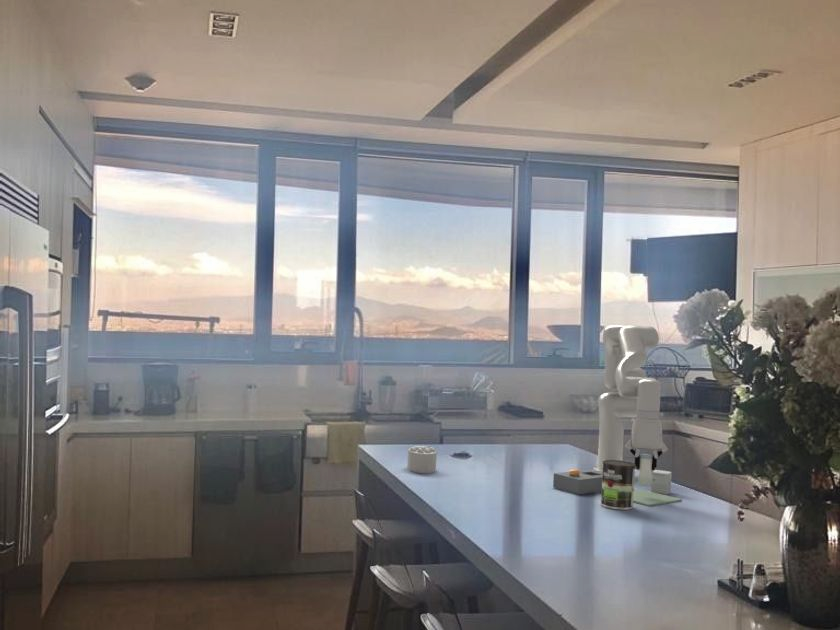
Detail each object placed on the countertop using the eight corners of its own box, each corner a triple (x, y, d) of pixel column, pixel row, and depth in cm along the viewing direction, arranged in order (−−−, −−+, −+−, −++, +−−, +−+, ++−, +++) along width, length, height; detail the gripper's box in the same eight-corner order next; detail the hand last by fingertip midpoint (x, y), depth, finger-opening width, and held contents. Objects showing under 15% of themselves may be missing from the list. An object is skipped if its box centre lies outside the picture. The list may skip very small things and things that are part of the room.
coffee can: (623, 511, 260) (625, 466, 260) (594, 505, 267) (596, 461, 267) (639, 507, 268) (641, 463, 268) (610, 501, 275) (613, 458, 275)
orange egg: (573, 485, 293) (574, 468, 293) (581, 487, 290) (581, 470, 290) (566, 486, 291) (567, 469, 291) (574, 488, 288) (574, 471, 288)
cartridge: (637, 482, 284) (638, 453, 285) (650, 483, 284) (651, 454, 284) (638, 484, 280) (640, 455, 280) (652, 485, 280) (653, 456, 280)
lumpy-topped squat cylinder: (431, 466, 321) (432, 444, 321) (438, 473, 308) (440, 450, 308) (405, 466, 319) (406, 444, 319) (411, 473, 306) (412, 449, 306)
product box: (650, 492, 293) (651, 471, 293) (653, 489, 299) (654, 469, 299) (668, 494, 290) (669, 473, 290) (671, 491, 296) (672, 471, 296)
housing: (587, 483, 303) (587, 469, 303) (613, 489, 294) (613, 475, 294) (553, 487, 293) (553, 473, 293) (578, 494, 283) (579, 479, 283)
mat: (638, 490, 295) (638, 488, 295) (682, 501, 281) (682, 499, 281) (605, 495, 284) (605, 493, 284) (649, 506, 270) (649, 504, 270)
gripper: (671, 416, 285) (668, 469, 285) (621, 412, 287) (618, 465, 287) (675, 418, 277) (672, 472, 277) (623, 415, 280) (621, 469, 279)
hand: (645, 468), depth 282 cm, fingers closed on cartridge, 4 cm apart
